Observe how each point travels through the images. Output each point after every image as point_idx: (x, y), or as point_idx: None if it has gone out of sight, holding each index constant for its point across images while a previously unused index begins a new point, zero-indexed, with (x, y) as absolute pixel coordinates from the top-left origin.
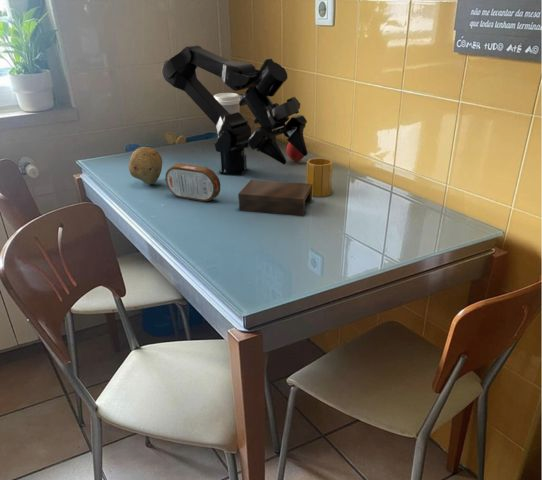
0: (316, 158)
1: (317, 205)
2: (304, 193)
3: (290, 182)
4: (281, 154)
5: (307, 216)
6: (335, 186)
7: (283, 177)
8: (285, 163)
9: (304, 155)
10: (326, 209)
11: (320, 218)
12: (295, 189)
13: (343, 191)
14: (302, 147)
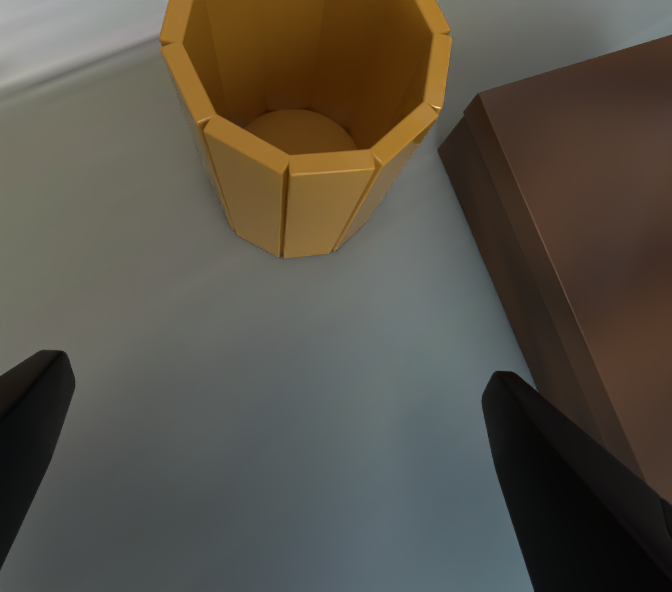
0: (224, 120)
1: (479, 89)
2: (658, 52)
3: (549, 245)
4: (585, 441)
5: None
6: (124, 141)
7: (138, 587)
8: (489, 385)
9: (70, 389)
10: (498, 25)
11: (608, 2)
12: (638, 137)
13: None
14: (2, 448)
